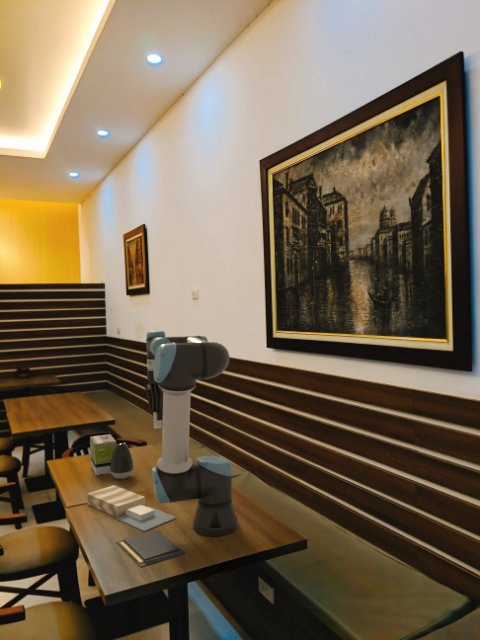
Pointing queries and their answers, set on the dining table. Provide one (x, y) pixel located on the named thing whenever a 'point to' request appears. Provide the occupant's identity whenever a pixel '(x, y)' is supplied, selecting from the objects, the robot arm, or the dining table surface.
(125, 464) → the pump dispenser
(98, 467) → the tea box
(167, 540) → the dark grey flat slab
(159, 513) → the mat
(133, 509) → the cream rectangular block
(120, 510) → the riser
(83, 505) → the dining table surface
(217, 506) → the robot arm
